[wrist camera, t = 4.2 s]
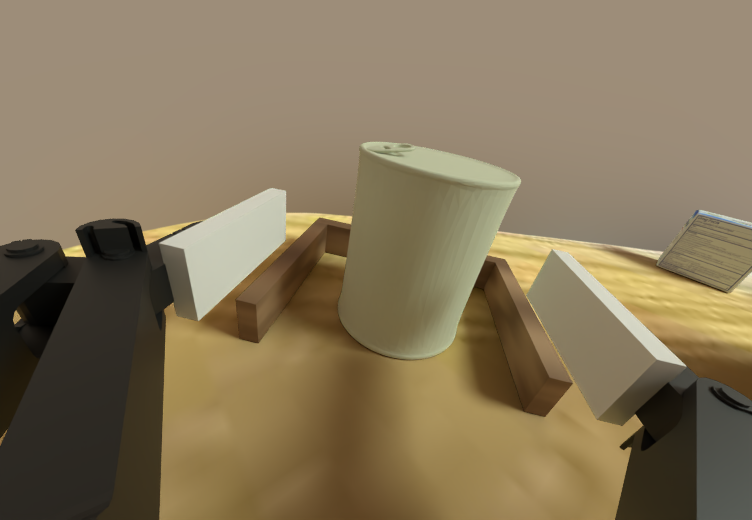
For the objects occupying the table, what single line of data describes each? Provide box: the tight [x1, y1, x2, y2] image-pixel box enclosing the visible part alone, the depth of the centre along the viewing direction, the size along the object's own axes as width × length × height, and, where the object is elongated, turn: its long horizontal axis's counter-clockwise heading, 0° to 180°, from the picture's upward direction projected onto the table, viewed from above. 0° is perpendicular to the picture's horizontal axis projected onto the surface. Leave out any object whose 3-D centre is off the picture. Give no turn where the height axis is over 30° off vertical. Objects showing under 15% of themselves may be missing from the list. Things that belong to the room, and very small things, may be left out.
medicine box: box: [656, 210, 752, 293], centre depth 38 cm, size 8×4×9 cm, turn 42°
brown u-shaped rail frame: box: [236, 218, 573, 417], centre depth 21 cm, size 14×18×3 cm
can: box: [338, 142, 521, 360], centre depth 18 cm, size 9×9×12 cm
